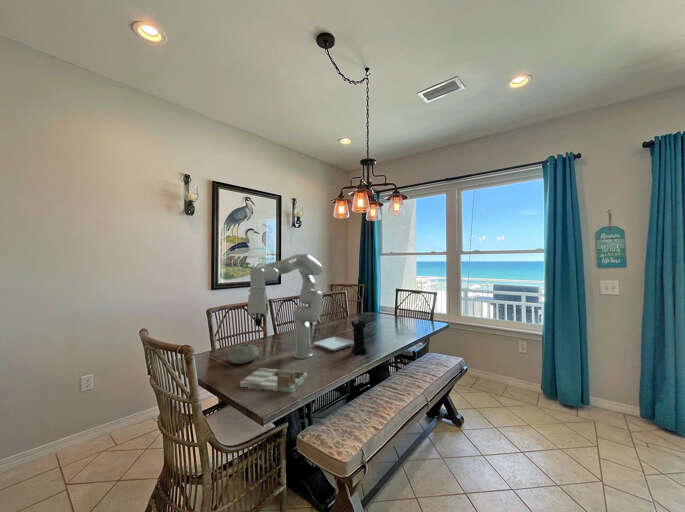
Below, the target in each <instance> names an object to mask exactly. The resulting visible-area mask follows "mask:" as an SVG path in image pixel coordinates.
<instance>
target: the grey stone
mask: <svg viewBox="0 0 685 512" xmlns="http://www.w3.org/2000/svg"><path fill="white" fill-rule="evenodd" d="M258 357H259V349H258V347H257V346H256V345H254V344H250V343H247V344H237V345H235V346H233V347H232V348H230V350H229V352H228V353H227V359H228V361H229V362H230V363H233V364H239V365H240V364H246V363H248V362H251V361H254V360H255V359H257V358H258Z"/></svg>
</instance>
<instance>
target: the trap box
mask: <svg viewBox="0 0 685 512" xmlns="http://www.w3.org/2000/svg"><path fill="white" fill-rule="evenodd" d="M283 371H289V370H286V369H285V370H284V369H278V368H277V369H275V368H266V367H265V368H264V367H259V368H258V369H256V370H255V371H253V372H252V373H251V374H249V375H247V376H246V377H245V378H244V379H242V380H241V381H239V387H240V386H241V387H240V388H242V387H248V388H247V389H251V388H257V389H256V390H260V389H264V390H263V391H269V390H273V391H272V392H278V391H281V392H280V393H287V392H289V394H293V393H294V392H295V391H296V390H297V389H298V388H299V386H300V385H302V384H303V382H304V381H306V379H307V378H308V371H307V372H306V371H297V370H290V371H291V372H295V383H294V384H293V385H292V386H290V387H289V388H287V387H280V386H278V381H277V375H279V374H280V373H281V372H283Z"/></svg>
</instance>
